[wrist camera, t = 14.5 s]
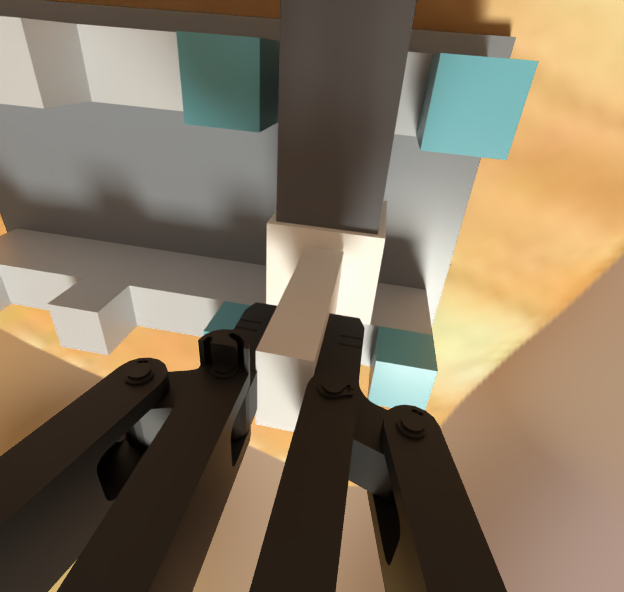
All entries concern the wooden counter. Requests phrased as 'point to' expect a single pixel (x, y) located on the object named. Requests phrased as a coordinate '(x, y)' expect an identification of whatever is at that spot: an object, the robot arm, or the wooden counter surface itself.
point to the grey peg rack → (217, 174)
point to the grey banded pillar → (336, 139)
